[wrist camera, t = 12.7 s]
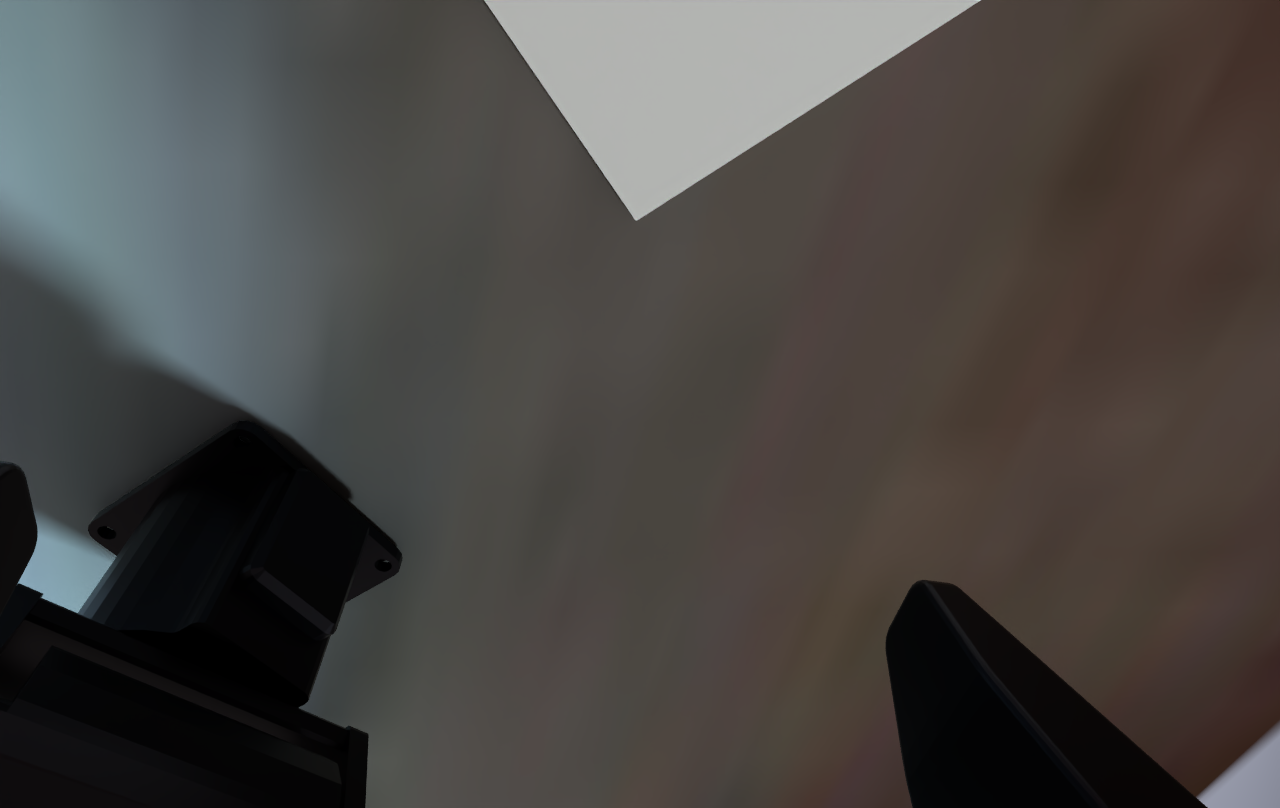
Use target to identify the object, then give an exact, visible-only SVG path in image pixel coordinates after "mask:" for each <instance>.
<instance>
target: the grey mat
mask: <svg viewBox="0 0 1280 808" xmlns="http://www.w3.org/2000/svg"><path fill="white" fill-rule="evenodd" d="M484 1H485V2H486V4H487V5H488V6H489V8H490V9H491V11H492V12H493V14H494V15H495V17H496V18H497V20H498V21H499V22H500V24H501V25H502V27H503V28H504V30H505V31H506V33H507V34H508V36H509V37H510V38H511V40H512V41H513V43H514V44H515V46H516V47H517V49H518V50H519V52H520V53H521V54H522V56H523V57H524V59H525V60H526V62H527V63H528V65H529V66H530V68H531V69H532V70H533V72H534V73H535V75H536V76H537V78H538V79H539V81H540V82H541V84H542V85H543V86H544V88H545V89H546V91H547V92H548V94H549V95H550V97H551V98H552V100H553V101H554V102H555V104H556V105H557V107H558V108H559V110H560V111H561V113H562V114H563V116H564V117H565V118H566V120H567V121H568V123H569V124H570V126H571V127H572V129H573V130H574V132H575V133H576V134H577V136H578V137H579V139H580V140H581V142H582V143H583V145H584V146H585V148H586V149H587V150H588V152H589V153H590V155H591V156H592V158H593V159H594V161H595V162H596V164H597V165H598V167H599V168H600V169H601V171H602V172H603V174H604V175H605V177H606V178H607V180H608V181H609V183H610V184H611V185H612V187H613V188H614V190H615V191H616V193H617V194H618V196H619V197H620V199H621V200H622V201H623V203H624V204H625V206H626V207H627V209H628V210H629V212H630V213H631V215H632V216H633V217H634V219H635V220H636V221H637V220H638V219H640V218H642V217H643V216H645V215H646V214H648V213H649V212H651V211H653V210H654V209H656V208H657V207H659V206H660V205H662V204H663V203H665V202H667V201H668V200H670V199H671V198H673V197H674V196H676V195H677V194H679V193H681V192H682V191H684V190H685V189H687V188H688V187H690V186H692V185H693V184H695V183H696V182H698V181H699V180H701V179H702V178H704V177H706V176H707V175H709V174H710V173H712V172H713V171H715V170H717V169H718V168H720V167H721V166H723V165H724V164H726V163H727V162H729V161H731V160H732V159H734V158H735V157H737V156H738V155H740V154H742V153H743V152H745V151H746V150H748V149H749V148H751V147H752V146H754V145H756V144H757V143H759V142H760V141H762V140H763V139H765V138H767V137H768V136H770V135H771V134H773V133H774V132H776V131H777V130H779V129H781V128H782V127H784V126H785V125H787V124H788V123H790V122H791V121H793V120H795V119H796V118H798V117H799V116H801V115H802V114H804V113H806V112H807V111H809V110H810V109H812V108H813V107H815V106H816V105H818V104H820V103H821V102H823V101H824V100H826V99H827V98H829V97H831V96H832V95H834V94H835V93H837V92H838V91H840V90H841V89H843V88H845V87H846V86H848V85H849V84H851V83H852V82H854V81H856V80H857V79H859V78H860V77H862V76H863V75H865V74H866V73H868V72H870V71H871V70H873V69H874V68H876V67H877V66H879V65H880V64H882V63H884V62H885V61H887V60H888V59H890V58H891V57H893V56H895V55H896V54H898V53H899V52H901V51H902V50H904V49H905V48H907V47H909V46H910V45H912V44H913V43H915V42H916V41H918V40H920V39H921V38H923V37H924V36H926V35H927V34H929V33H930V32H932V31H934V30H935V29H937V28H938V27H940V26H941V25H943V24H945V23H946V22H948V21H949V20H951V19H952V18H954V17H955V16H957V15H959V14H960V13H962V12H963V11H965V10H966V9H968V8H969V7H971V6H973V5H974V4H976V3H977V2H979V1H980V0H484Z"/></svg>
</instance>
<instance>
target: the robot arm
mask: <svg viewBox="0 0 1280 808" xmlns="http://www.w3.org/2000/svg"><path fill="white" fill-rule="evenodd" d="M239 436H241V437H246V438H247V439H249V440H250V441H251V442H252V443H245V442H244V441H242V440H241V439H240V438H239ZM108 527H110V528H112V529H113V530H112V529H110V528H108ZM88 531H89V534H90V536H91V537H92V538H93V539H94V540H95V541H97V542H98V543H100V544H101V545H102V546H104V547H105V548H107V549H108V550H109V551H111V552H112V553H114V554H115V555H116V556H117V557H116V558H115V560H114V561H113V563H112V564H111V566H110V567H109V569H108V570H107V572H106V573H105V574H104V576H103V577H102V579H101V580H100V582H99V583H98V585H97V586H96V587H95V589H94V590H93V592H92V593H91V595H90V596H89V598H88V599H87V600H86V602H85V603H84V605H83V606H82V608H81V609H80V611H79V612H78V613H75V612H73V611H71V610H68V609H66V608H64V607H61V606H59V605H57V604H54V603H52V602H50V601H47V600H45V599H43V598H41V597H42V595H43V593H40V592H38V591H36V590H33V589H31V588H29V587H26V586H24V585H22V584H19V583H18V582H19V580H20V578H21V576H22V574H23V572H24V570H25V568H26V566H27V564H28V562H29V561H30V559H31V557H32V554H33V552H34V549H35V546H36V542H37V524H36V520H35V515H34V511H33V507H32V502H31V498H30V494H29V489H28V485H27V480H26V477H25V474H24V472H23V470H22V469H21V468H20V467H19V466H18V465H16V464H13V463H10V462H3V461H0V808H365V801H366V779H367V757H368V734H367V733H365V732H363V731H360V730H358V729H356V728H353V727H351V726H347V727H346V728H344V727H341V726H339V725H337V724H334V723H332V722H330V721H327V720H325V719H323V718H320V717H318V716H316V715H313V714H311V713H309V712H306V711H304V710H302V709H299V707H300V706H302V705H304V704H305V703H307V702H308V700H309V697H310V694H311V691H312V689H313V686H314V683H315V680H316V677H317V674H318V671H319V668H320V665H321V662H322V659H323V656H324V653H325V651H326V648H327V645H328V642H329V639H330V636H331V635H332V634H334V632H335V631H336V629H337V626H338V623H339V620H340V617H341V614H342V611H343V609H344V606H345V603H346V602H347V601H349V600H351V599H353V598H355V597H356V596H358V595H360V594H362V593H364V592H365V591H367V590H369V589H371V588H373V587H374V586H376V585H378V584H380V583H382V582H383V581H385V580H387V579H389V578H390V577H392V576H394V575H395V574H397V573H398V572H399V569H400V566H401V562H402V553H401V552H400V551H399V549H397V548H396V547H395V546H394V545H393V544H392V543H391V542H390V541H388V540H387V539H386V538H385V537H384V536H383V535H382V534H381V533H379V532H378V531H377V530H376V529H375V528H374V527H373V526H372V525H370V524H369V523H368V522H367V521H366V520H365V519H364V518H363V517H362V516H360V515H359V514H358V513H357V512H356V511H355V510H354V509H353V508H351V507H350V506H349V505H348V504H347V503H346V502H345V501H344V500H342V499H341V498H340V497H339V496H338V495H337V494H336V493H335V492H333V491H332V490H331V489H330V488H329V487H328V486H327V485H326V484H324V483H323V482H322V481H321V480H320V479H319V478H318V477H317V476H315V475H314V474H313V473H312V472H311V471H310V470H309V469H307V468H306V467H305V466H304V465H303V464H302V463H301V462H300V461H298V460H297V459H296V458H295V457H294V456H293V455H292V454H291V453H289V452H288V451H287V450H286V449H285V448H284V447H283V446H282V445H280V444H279V443H278V442H277V441H276V440H275V439H274V438H273V437H271V436H270V435H269V434H268V433H267V432H266V431H265V430H264V429H262V428H261V427H260V426H258V425H257V424H255V423H253V422H250V421H238V422H236V423H233V424H232V425H230V426H229V427H227V428H226V429H224V430H223V431H221V432H220V433H218V434H217V435H215V436H214V437H212V438H211V439H209V440H208V441H206V442H205V443H203V444H202V445H200V446H199V447H197V448H196V449H194V450H193V451H191V452H190V453H188V454H187V455H185V456H184V457H182V458H181V459H179V460H178V461H176V462H175V463H173V464H172V465H170V466H169V467H167V468H166V469H164V470H163V471H161V472H160V473H158V474H157V475H155V476H154V477H152V478H151V479H149V480H148V481H146V482H145V483H143V484H142V485H140V486H139V487H137V488H136V489H134V490H133V491H131V492H130V493H128V494H127V495H125V496H124V497H122V498H121V499H119V500H118V501H116V502H115V503H113V504H112V505H110V506H109V507H107V508H106V509H104V510H103V511H101V512H100V513H98V515H97V516H96V517H95V518H94V519H93V521H92V522H91V523H90V525H89V527H88ZM380 559H384V560H387V561H389V562H382V561H381V560H380ZM16 585H17V586H16ZM886 657H887V663H888V669H889V676H890V682H891V689H892V695H893V702H894V708H895V715H896V721H897V727H898V734H899V740H900V747H901V753H902V760H903V765H904V771H905V776H906V781H907V786H908V790H909V794H910V798H911V803H912V807H913V808H1207V807H1206V806H1205V805H1204V804H1203V803H1202V802H1200V801H1199V800H1198V799H1197V798H1196V797H1195V796H1194V795H1193V794H1191V793H1190V792H1189V791H1188V790H1187V789H1186V788H1185V787H1184V786H1182V785H1181V784H1180V783H1179V782H1178V781H1177V780H1176V779H1174V778H1173V777H1172V776H1171V775H1170V774H1169V773H1168V772H1167V771H1165V770H1164V769H1163V768H1162V767H1161V766H1160V765H1159V764H1158V763H1156V762H1155V761H1154V760H1153V759H1152V758H1151V757H1150V756H1149V755H1147V754H1146V753H1145V752H1144V751H1143V750H1142V749H1141V748H1139V747H1138V746H1137V745H1136V744H1135V743H1134V742H1133V741H1132V740H1130V739H1129V738H1128V737H1127V736H1126V735H1125V734H1124V733H1123V732H1121V731H1120V730H1119V729H1118V728H1117V727H1116V726H1115V725H1113V724H1112V723H1111V722H1110V721H1109V720H1108V719H1107V718H1106V717H1104V716H1103V715H1102V714H1101V713H1100V712H1099V711H1098V710H1097V709H1095V708H1094V707H1093V706H1092V705H1091V704H1090V703H1089V702H1087V701H1086V700H1085V699H1084V698H1083V697H1082V696H1081V695H1080V694H1078V693H1077V692H1076V691H1075V690H1074V689H1073V688H1072V687H1071V686H1069V685H1068V684H1067V683H1066V682H1065V681H1064V680H1063V679H1062V678H1060V677H1059V676H1058V675H1057V674H1056V673H1055V672H1054V671H1052V670H1051V669H1050V668H1049V667H1048V666H1047V665H1046V664H1045V663H1043V662H1042V661H1041V660H1040V659H1039V658H1038V657H1037V656H1036V655H1034V654H1033V653H1032V652H1031V651H1030V650H1029V649H1028V648H1026V647H1025V646H1024V645H1023V644H1022V643H1021V642H1020V641H1019V640H1017V639H1016V638H1015V637H1014V636H1013V635H1012V634H1011V633H1010V632H1008V631H1007V630H1006V629H1005V628H1004V627H1003V626H1002V625H1000V624H999V623H998V622H997V621H996V620H995V619H994V618H993V617H991V616H990V615H989V614H988V613H987V612H986V611H985V610H984V609H982V608H981V607H980V606H979V605H978V604H977V603H976V602H975V601H973V600H972V599H971V598H970V597H969V596H968V595H967V594H965V593H964V592H963V591H962V590H961V589H960V588H958V587H957V586H955V585H953V584H950V583H944V582H937V581H929V580H920V581H917V582H916V583H915V584H913V585H912V587H911V588H910V590H909V592H908V593H907V595H906V597H905V599H904V601H903V603H902V605H901V606H900V608H899V610H898V612H897V614H896V616H895V618H894V620H893V621H892V623H891V625H890V627H889V630H888V633H887V636H886Z"/></svg>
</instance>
